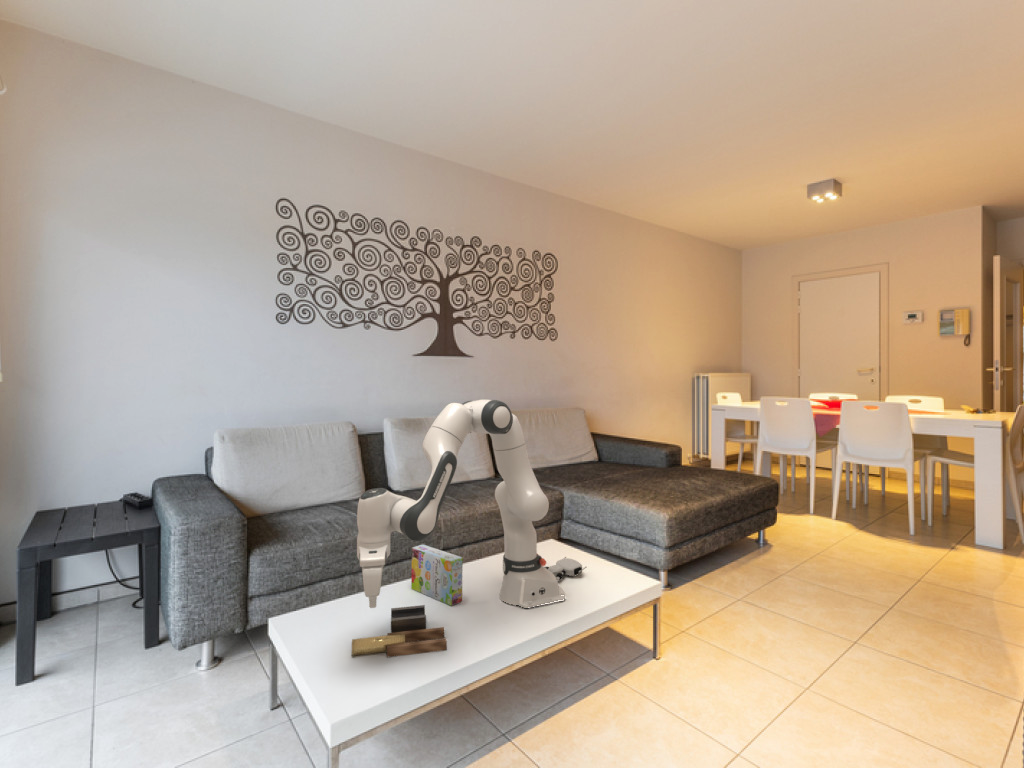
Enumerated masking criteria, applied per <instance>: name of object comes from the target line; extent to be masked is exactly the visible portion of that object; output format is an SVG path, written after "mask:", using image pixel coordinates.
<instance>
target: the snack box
mask: <svg viewBox="0 0 1024 768" xmlns="http://www.w3.org/2000/svg"><path fill="white" fill-rule="evenodd" d="M463 560H464V559H463V557H462V556H459V555H456V554H453V553H450V552H448V551H444V550H441V549H438V548H435V547H433V546H430V545H426V544H422V543H421V544H420V545H416V546H413V547H411V577H410V579H411V582H410V583H411V584H410V585H411V588H410V589H411V590H413V591H415V592H419V593H420V594H423V595H425V596H427V597H430V598H432V599H434V600H436V601H439V602H442V603H443V604H446V605H448V606H451V607H452V606H454V605H457V604H458V603H462V602H463V569H464V568H463V567H464V566H463ZM461 601H462V602H461Z"/></svg>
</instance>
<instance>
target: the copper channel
mask: <svg viewBox="0 0 1024 768" xmlns="http://www.w3.org/2000/svg"><path fill="white" fill-rule="evenodd" d="M403 633H405V643H402V644H393V645H387V652H386V658H392V657H401V656H407V655H410V656H411V655H416V654H426V653H434V652H442V651H447V646H448V645H447V643H448V641H447V638H446V637H445V627H444V626H442V627H430V628H426V629H422V630H413V631H403V632H394V633H391V632H387V634H386V635H395V634H403Z"/></svg>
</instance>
